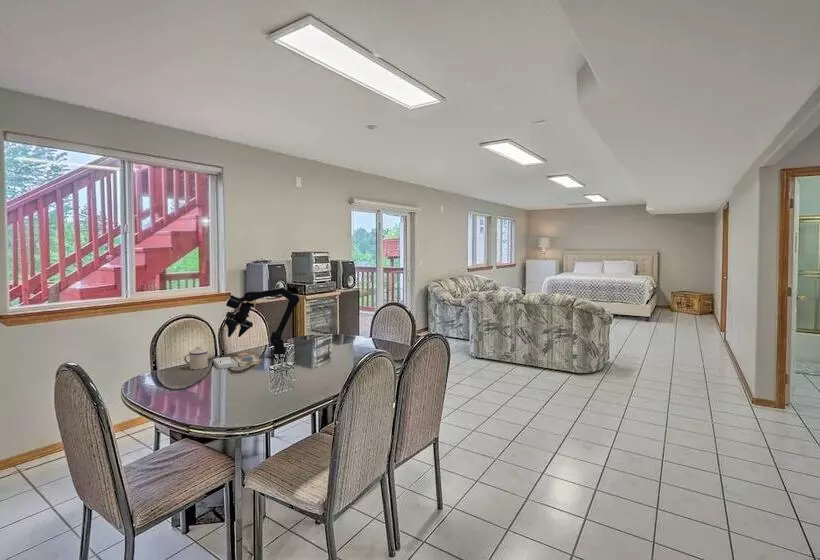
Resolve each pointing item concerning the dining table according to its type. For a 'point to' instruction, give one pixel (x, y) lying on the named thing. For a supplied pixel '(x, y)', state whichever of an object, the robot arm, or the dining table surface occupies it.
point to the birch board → (255, 361)
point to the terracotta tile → (242, 355)
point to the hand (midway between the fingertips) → (233, 336)
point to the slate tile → (246, 358)
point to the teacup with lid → (197, 358)
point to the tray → (225, 362)
